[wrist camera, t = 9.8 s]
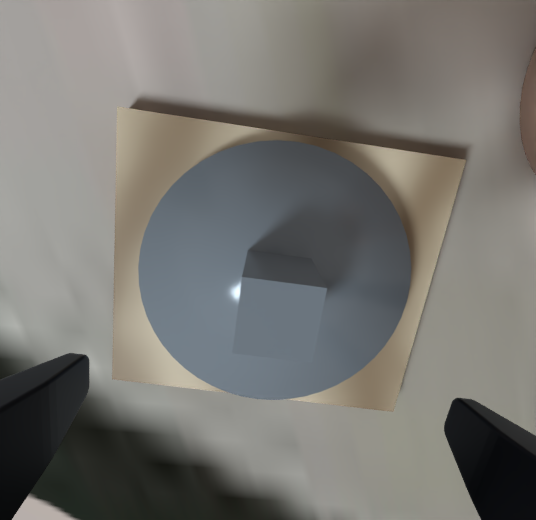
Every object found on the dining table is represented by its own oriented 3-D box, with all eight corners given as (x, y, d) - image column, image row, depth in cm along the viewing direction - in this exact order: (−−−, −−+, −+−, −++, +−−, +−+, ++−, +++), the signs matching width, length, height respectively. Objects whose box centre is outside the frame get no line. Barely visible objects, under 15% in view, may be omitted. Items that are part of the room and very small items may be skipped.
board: (453, 160, 16) (466, 159, 15) (387, 399, 20) (393, 411, 19) (126, 110, 15) (117, 106, 14) (119, 368, 19) (112, 379, 18)
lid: (432, 164, 15) (511, 160, 10) (370, 399, 18) (408, 480, 14) (151, 122, 14) (95, 97, 10) (140, 373, 18) (94, 447, 13)
